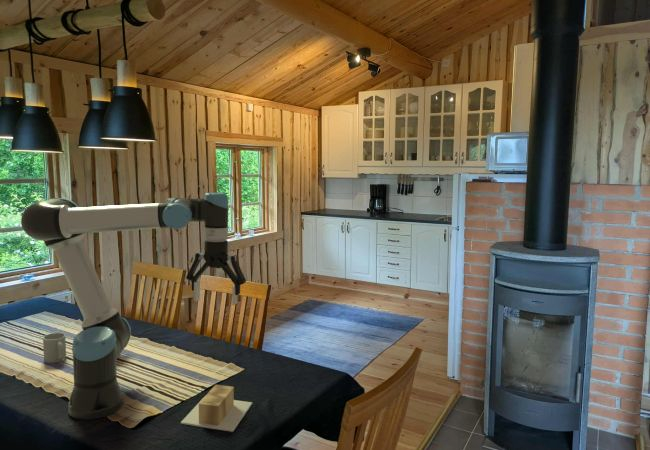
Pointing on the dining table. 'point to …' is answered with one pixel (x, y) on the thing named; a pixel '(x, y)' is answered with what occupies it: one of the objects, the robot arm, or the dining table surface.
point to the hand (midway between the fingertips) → (215, 302)
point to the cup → (54, 347)
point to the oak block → (216, 405)
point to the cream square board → (227, 423)
